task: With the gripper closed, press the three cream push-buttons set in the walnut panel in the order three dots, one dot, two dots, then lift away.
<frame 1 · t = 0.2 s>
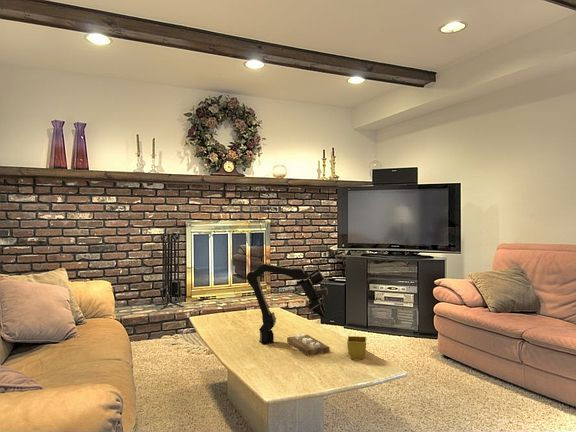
hand: (324, 314, 220), 15 cm above the table, tool tilted 30°, fingers open, 9 cm apart
flower pot: (357, 358, 195), on the table
button one: (300, 337, 222), point 3 cm above the table, slide at 0.0 cm
button three: (314, 345, 207), point 3 cm above the table, slide at 0.0 cm
button two: (307, 341, 214), point 3 cm above the table, slide at 0.0 cm
button panel: (307, 346, 214), on the table
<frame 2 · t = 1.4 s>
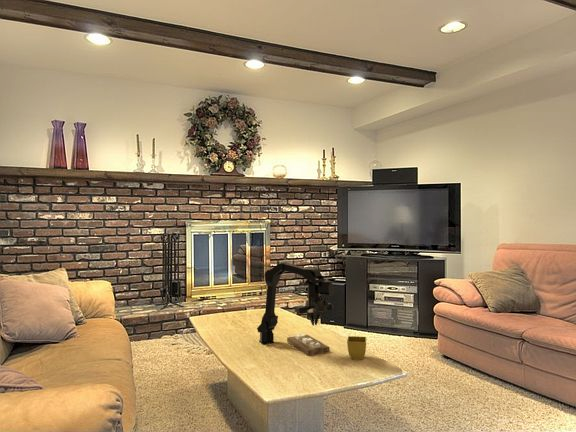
hand: (314, 325, 207), 13 cm above the table, tool pointing down, fingers closed
nothing on the table moved.
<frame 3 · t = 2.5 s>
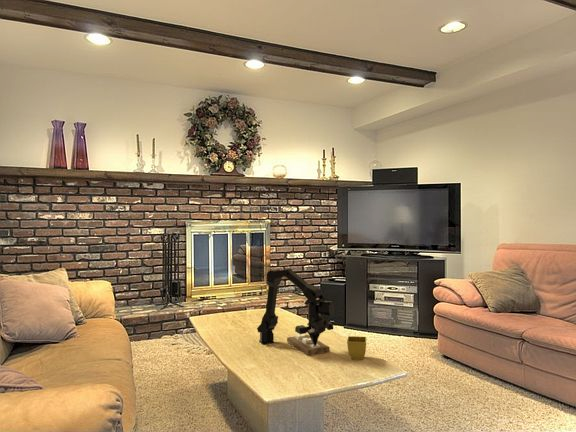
hand: (314, 345, 207), 3 cm above the table, tool pointing down, fingers closed, pressing on button three
button three: (315, 347, 207), point 2 cm above the table, slide at 1.0 cm, touching gripper
everything else where it was.
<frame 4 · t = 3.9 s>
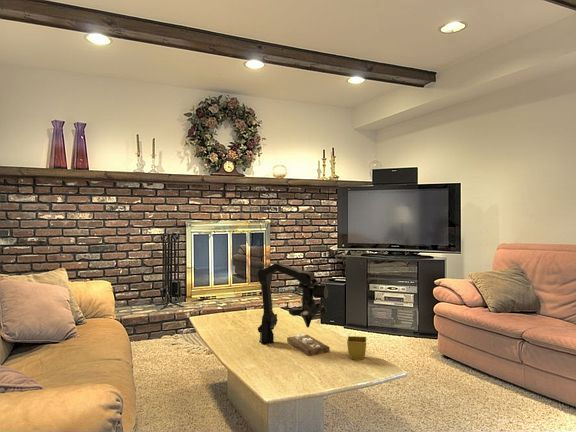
hand: (307, 327, 213), 10 cm above the table, tool pointing down, fingers closed
button three: (315, 347, 207), point 2 cm above the table, slide at 1.1 cm
everything else where it was.
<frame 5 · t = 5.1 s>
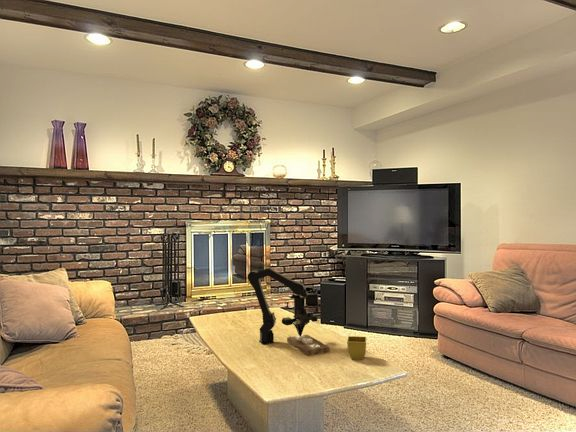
hand: (300, 335, 222), 4 cm above the table, tool pointing down, fingers closed, pressing on button one
button one: (300, 338, 222), point 2 cm above the table, slide at 0.6 cm, touching gripper
everything else where it was.
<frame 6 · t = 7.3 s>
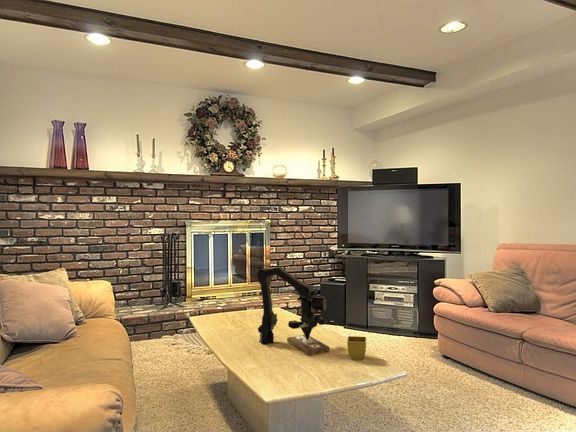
hand: (307, 339, 214), 4 cm above the table, tool pointing down, fingers closed, pressing on button two
button one: (300, 339, 222), point 2 cm above the table, slide at 1.2 cm
button two: (307, 341, 214), point 3 cm above the table, slide at 0.2 cm, touching gripper
everything else where it was.
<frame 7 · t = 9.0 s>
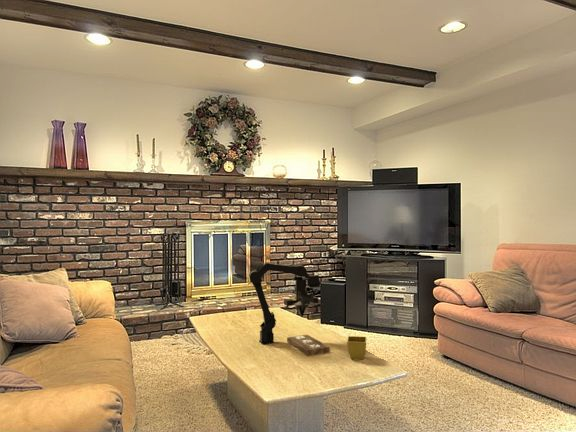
hand: (301, 316, 227), 12 cm above the table, tool pointing down, fingers closed
button two: (307, 343, 214), point 2 cm above the table, slide at 0.9 cm
everything else where it was.
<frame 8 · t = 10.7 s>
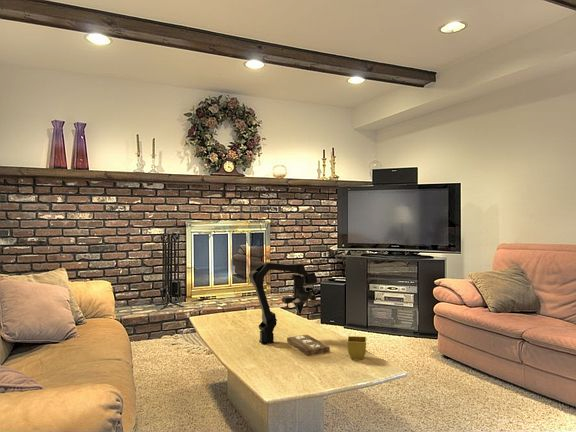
hand: (299, 313, 232), 13 cm above the table, tool pointing down, fingers closed
nothing on the table moved.
at the end: button three slide at 1.1 cm; button one slide at 1.2 cm; button two slide at 0.9 cm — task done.
